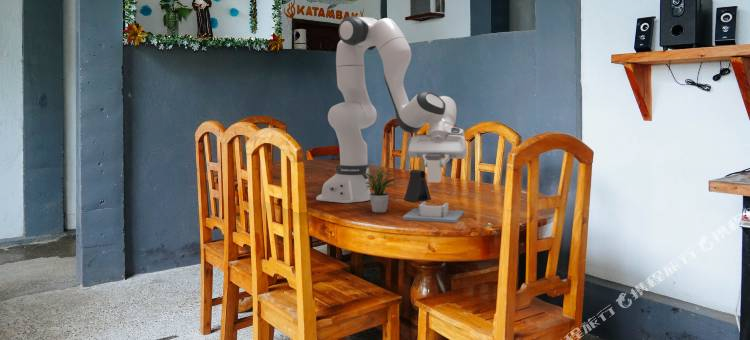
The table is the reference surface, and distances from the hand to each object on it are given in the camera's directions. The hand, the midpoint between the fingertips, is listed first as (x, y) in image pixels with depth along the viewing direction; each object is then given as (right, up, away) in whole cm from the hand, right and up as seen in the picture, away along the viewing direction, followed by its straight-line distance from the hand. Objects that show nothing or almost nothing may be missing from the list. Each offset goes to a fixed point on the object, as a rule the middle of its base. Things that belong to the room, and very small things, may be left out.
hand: (434, 166), depth 192 cm
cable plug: (0, -5, +1) cm, 5 cm away
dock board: (0, -17, +2) cm, 17 cm away
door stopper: (-3, -13, +34) cm, 36 cm away
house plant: (-19, -16, +12) cm, 28 cm away
